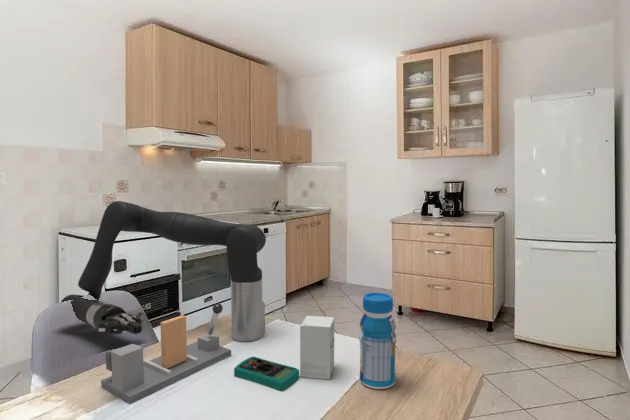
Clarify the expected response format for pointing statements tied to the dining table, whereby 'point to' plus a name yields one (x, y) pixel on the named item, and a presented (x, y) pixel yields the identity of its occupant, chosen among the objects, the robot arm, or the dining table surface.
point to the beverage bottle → (377, 342)
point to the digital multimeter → (267, 373)
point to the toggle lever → (214, 318)
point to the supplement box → (317, 347)
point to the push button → (108, 361)
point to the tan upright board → (173, 341)
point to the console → (157, 368)
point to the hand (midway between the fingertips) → (138, 329)
